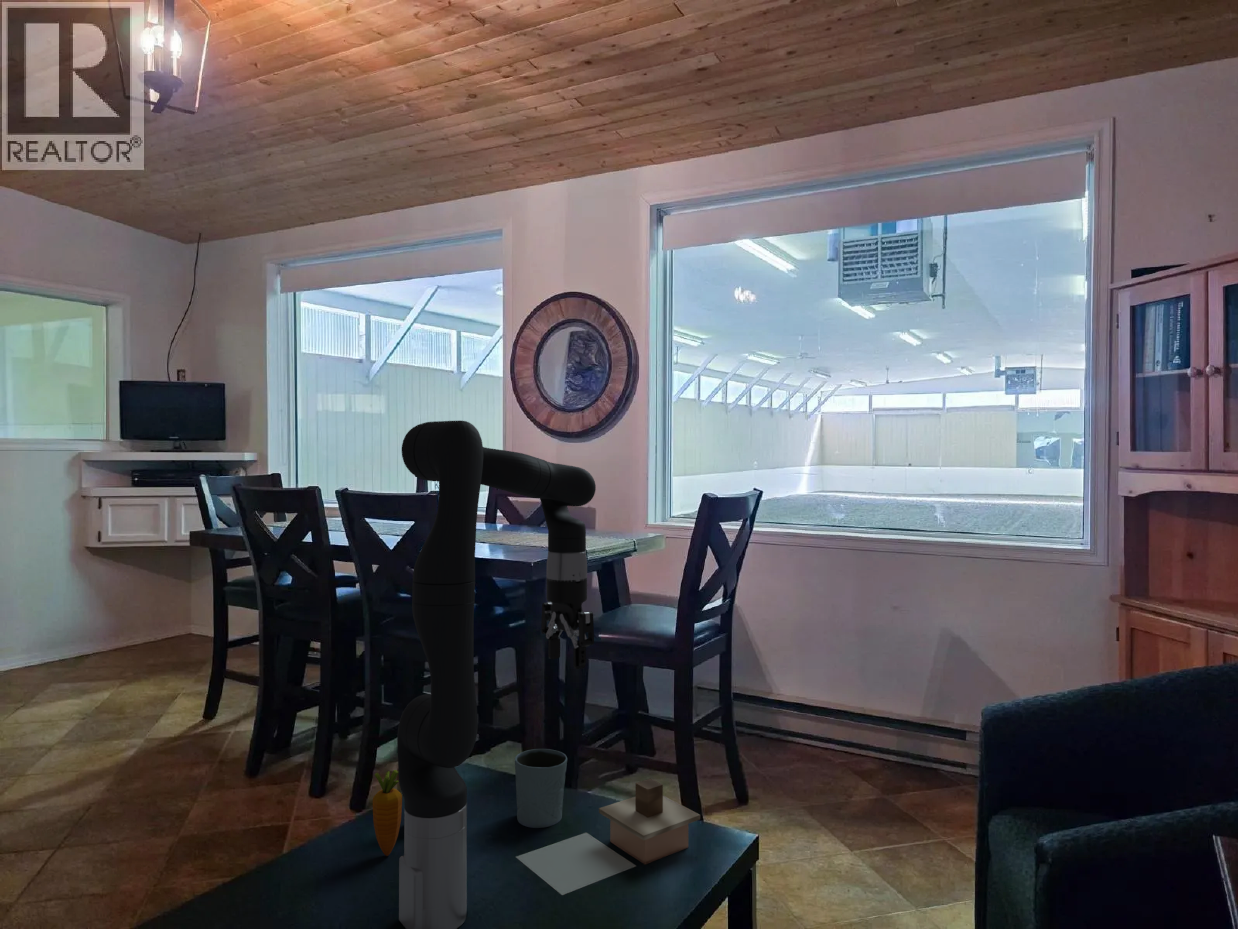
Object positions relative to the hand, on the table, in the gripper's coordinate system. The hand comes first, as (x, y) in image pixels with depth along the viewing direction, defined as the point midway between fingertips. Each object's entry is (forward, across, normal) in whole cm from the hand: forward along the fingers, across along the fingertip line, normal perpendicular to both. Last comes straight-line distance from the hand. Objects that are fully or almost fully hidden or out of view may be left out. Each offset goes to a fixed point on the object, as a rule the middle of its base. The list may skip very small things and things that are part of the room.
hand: (566, 663), depth 142 cm
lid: (+27, +12, +10) cm, 31 cm away
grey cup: (+32, -9, 0) cm, 34 cm away
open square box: (+32, +12, +10) cm, 36 cm away
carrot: (+32, -13, -29) cm, 45 cm away
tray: (+32, +9, -4) cm, 34 cm away
